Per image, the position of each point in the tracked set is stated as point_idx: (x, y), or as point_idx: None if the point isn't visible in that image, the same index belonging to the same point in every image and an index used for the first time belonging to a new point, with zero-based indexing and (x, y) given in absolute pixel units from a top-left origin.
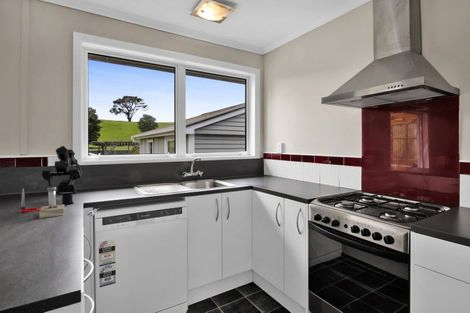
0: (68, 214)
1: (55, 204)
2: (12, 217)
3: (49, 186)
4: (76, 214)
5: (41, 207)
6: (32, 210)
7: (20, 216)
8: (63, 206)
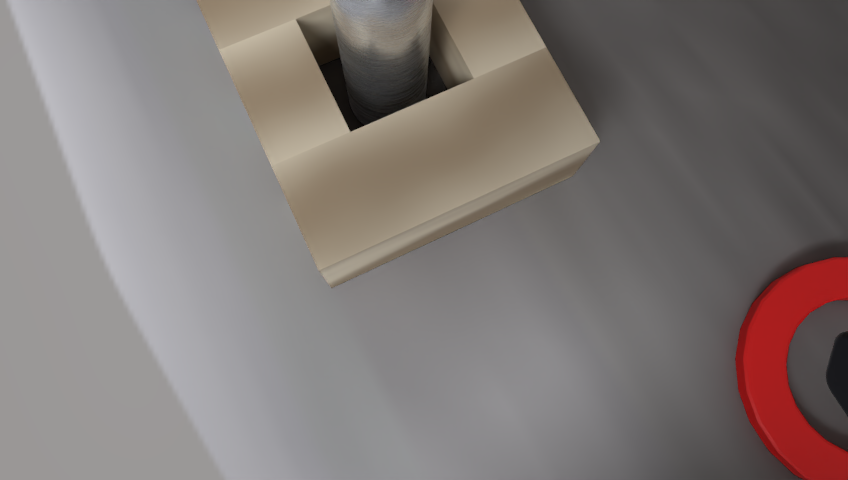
0: (159, 40)
1: (334, 25)
2: (797, 14)
3: (845, 370)
4: (51, 22)
5: (565, 82)
6: (791, 286)
7: (736, 46)
8: (240, 88)
